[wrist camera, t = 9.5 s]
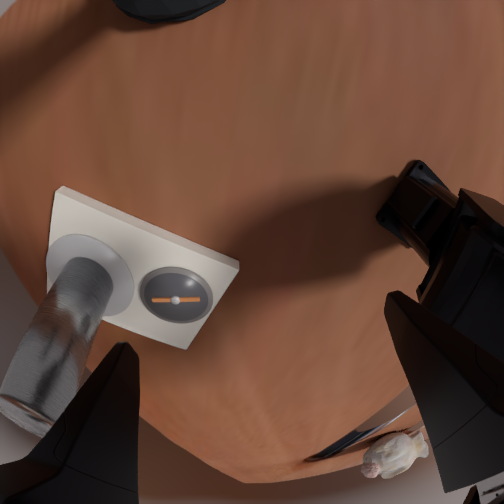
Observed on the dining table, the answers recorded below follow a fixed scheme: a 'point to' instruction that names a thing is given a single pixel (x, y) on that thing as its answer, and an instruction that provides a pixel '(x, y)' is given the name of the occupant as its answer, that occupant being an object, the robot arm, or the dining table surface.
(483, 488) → the robot arm
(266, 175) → the dining table surface
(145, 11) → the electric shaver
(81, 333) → the metal tumbler
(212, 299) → the dial scale
